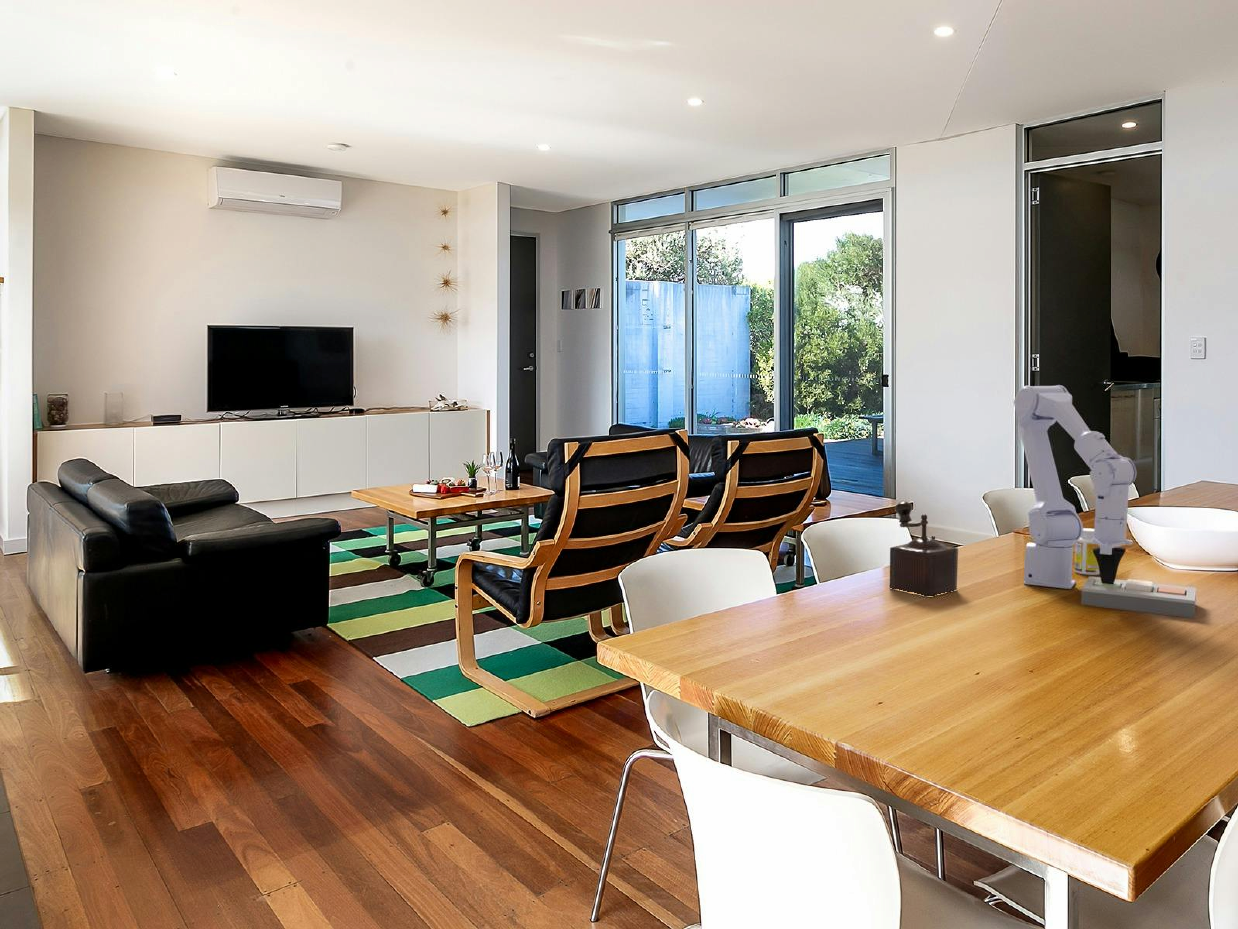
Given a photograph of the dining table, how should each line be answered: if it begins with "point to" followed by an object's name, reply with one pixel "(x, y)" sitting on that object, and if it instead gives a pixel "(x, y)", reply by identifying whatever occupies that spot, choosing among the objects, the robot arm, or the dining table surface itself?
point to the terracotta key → (1171, 591)
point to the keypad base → (1140, 599)
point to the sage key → (1114, 585)
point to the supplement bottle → (1086, 554)
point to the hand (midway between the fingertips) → (1107, 583)
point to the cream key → (1139, 585)
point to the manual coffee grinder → (922, 561)
